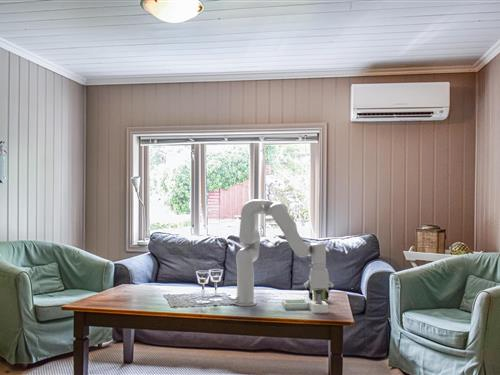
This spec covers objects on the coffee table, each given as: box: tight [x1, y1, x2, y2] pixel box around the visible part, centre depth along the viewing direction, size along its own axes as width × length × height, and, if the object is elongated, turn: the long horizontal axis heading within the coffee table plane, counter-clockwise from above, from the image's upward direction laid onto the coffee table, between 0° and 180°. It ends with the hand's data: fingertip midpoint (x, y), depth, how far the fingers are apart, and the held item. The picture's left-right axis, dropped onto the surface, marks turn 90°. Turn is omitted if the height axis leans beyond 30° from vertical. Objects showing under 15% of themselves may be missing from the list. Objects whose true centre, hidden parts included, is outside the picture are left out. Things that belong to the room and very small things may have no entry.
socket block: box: [309, 300, 329, 314], centre depth 215 cm, size 8×8×4 cm
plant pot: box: [312, 288, 326, 302], centre depth 238 cm, size 9×9×9 cm
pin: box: [315, 289, 323, 304], centre depth 216 cm, size 4×4×11 cm
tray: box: [281, 298, 310, 311], centre depth 223 cm, size 13×10×3 cm
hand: (318, 299), depth 216 cm, fingers open, 7 cm apart
